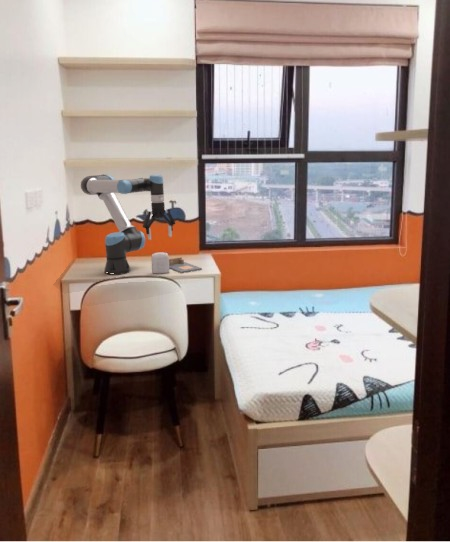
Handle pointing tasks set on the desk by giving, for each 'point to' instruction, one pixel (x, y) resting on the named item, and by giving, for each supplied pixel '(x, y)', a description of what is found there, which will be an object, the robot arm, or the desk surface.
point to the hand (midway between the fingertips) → (160, 238)
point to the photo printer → (160, 263)
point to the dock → (182, 265)
